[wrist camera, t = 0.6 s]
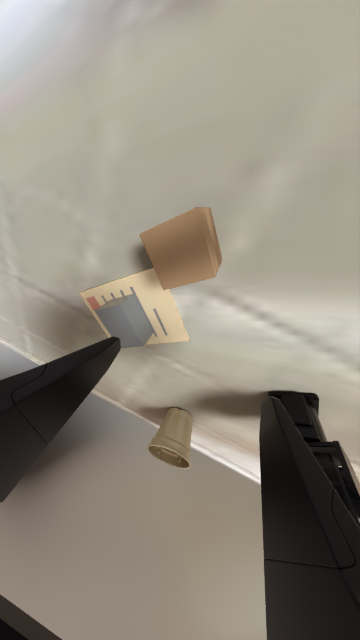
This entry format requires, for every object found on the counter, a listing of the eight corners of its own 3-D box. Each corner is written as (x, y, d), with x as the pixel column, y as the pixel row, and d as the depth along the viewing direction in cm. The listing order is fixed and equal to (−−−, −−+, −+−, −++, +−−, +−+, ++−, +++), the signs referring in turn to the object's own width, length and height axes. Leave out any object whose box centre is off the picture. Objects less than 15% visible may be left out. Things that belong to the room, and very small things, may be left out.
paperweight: (153, 331, 27) (143, 345, 24) (130, 334, 29) (119, 348, 26) (134, 293, 24) (120, 304, 21) (109, 299, 26) (94, 310, 23)
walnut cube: (222, 259, 18) (215, 276, 13) (181, 271, 20) (163, 290, 15) (210, 207, 16) (197, 207, 11) (166, 227, 18) (139, 234, 13)
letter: (189, 340, 26) (189, 340, 26) (115, 347, 33) (115, 347, 33) (159, 265, 21) (159, 265, 20) (79, 292, 27) (78, 293, 27)
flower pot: (191, 430, 42) (182, 472, 35) (158, 413, 43) (143, 452, 36) (206, 416, 37) (197, 463, 30) (167, 397, 37) (151, 439, 30)
